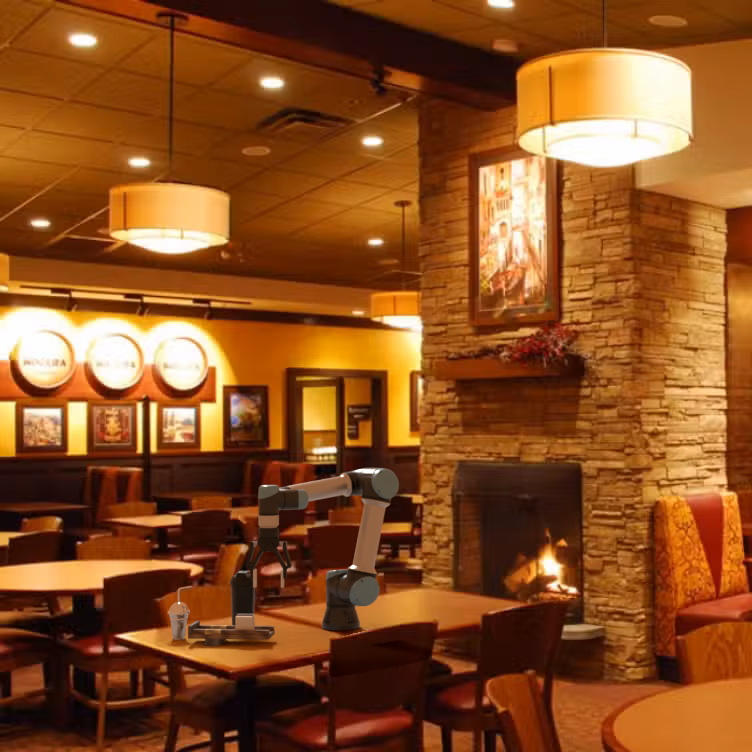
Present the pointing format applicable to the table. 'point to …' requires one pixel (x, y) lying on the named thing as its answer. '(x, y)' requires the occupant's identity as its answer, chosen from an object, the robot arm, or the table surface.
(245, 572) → the water bottle
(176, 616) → the cup with straw
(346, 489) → the robot arm
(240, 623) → the rider
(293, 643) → the table surface
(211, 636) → the brown wooden tray
